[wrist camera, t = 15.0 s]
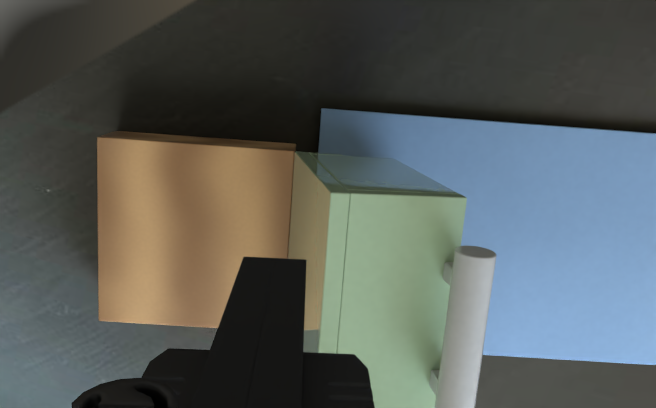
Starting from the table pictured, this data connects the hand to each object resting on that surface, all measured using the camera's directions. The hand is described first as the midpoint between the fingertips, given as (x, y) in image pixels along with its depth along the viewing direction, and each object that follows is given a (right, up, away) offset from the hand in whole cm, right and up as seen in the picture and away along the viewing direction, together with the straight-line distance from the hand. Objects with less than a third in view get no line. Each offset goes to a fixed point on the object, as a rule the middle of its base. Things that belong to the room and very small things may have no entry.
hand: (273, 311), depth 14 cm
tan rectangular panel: (-7, +1, +25) cm, 26 cm away
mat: (+14, 0, +25) cm, 29 cm away
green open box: (0, -2, +15) cm, 15 cm away
